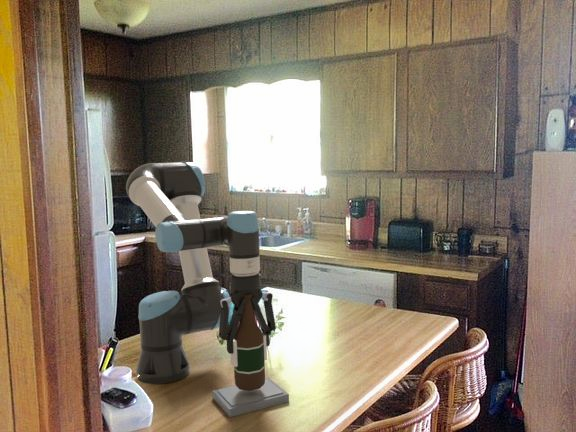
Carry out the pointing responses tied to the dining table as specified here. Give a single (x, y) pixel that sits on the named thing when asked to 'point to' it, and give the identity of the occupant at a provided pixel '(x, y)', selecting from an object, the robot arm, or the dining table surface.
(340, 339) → the dining table surface
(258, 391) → the slate stand
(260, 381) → the beer bottle
